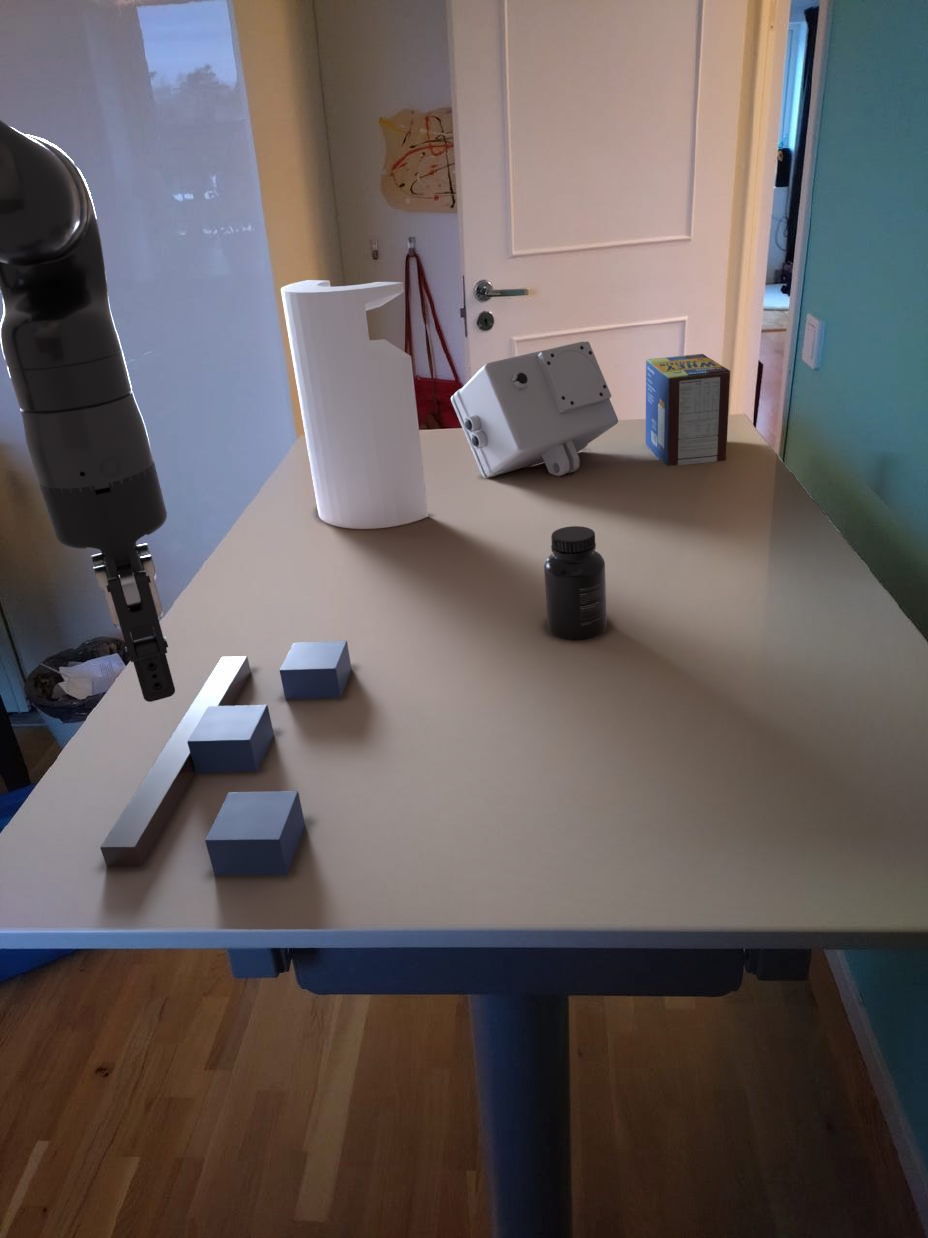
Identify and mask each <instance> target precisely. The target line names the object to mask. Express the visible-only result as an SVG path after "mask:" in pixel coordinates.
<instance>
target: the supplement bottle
mask: <svg viewBox="0 0 928 1238" xmlns="http://www.w3.org/2000/svg"><path fill="white" fill-rule="evenodd" d="M550 539H551V545H550V548H551V552H552V553H550V555H549V556H548V557H547V558H546V559H545V561H544V565H543V570H544V571H543V572H544V590H545V602H546V603H545V607H546V620H547V621H546V622H547V630H548V631H549V633H550V634H551V635H552V636H554V637H556V638H559V639H561V640H566V641H586V640H590V639H594V638H597V637H599V636H601V635H602V634H603V633H604V632H605V631H606V630H607V623H608V620H607V619H608V618H607V611H608V610H607V580H606V579H607V578H606V562H605V559H604V558H603V556H602V555H601V554H600V553H599V552H598V551H596V549H597V543H596V533H595V531H594V529H592V528H589V527H586V526H580V525H579V526H578V525H573V526H572V525H571V526H566V527H564V526H563V527H560V528H557V529H556V530H554V531H553V532H552V533H551V537H550Z"/></svg>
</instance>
